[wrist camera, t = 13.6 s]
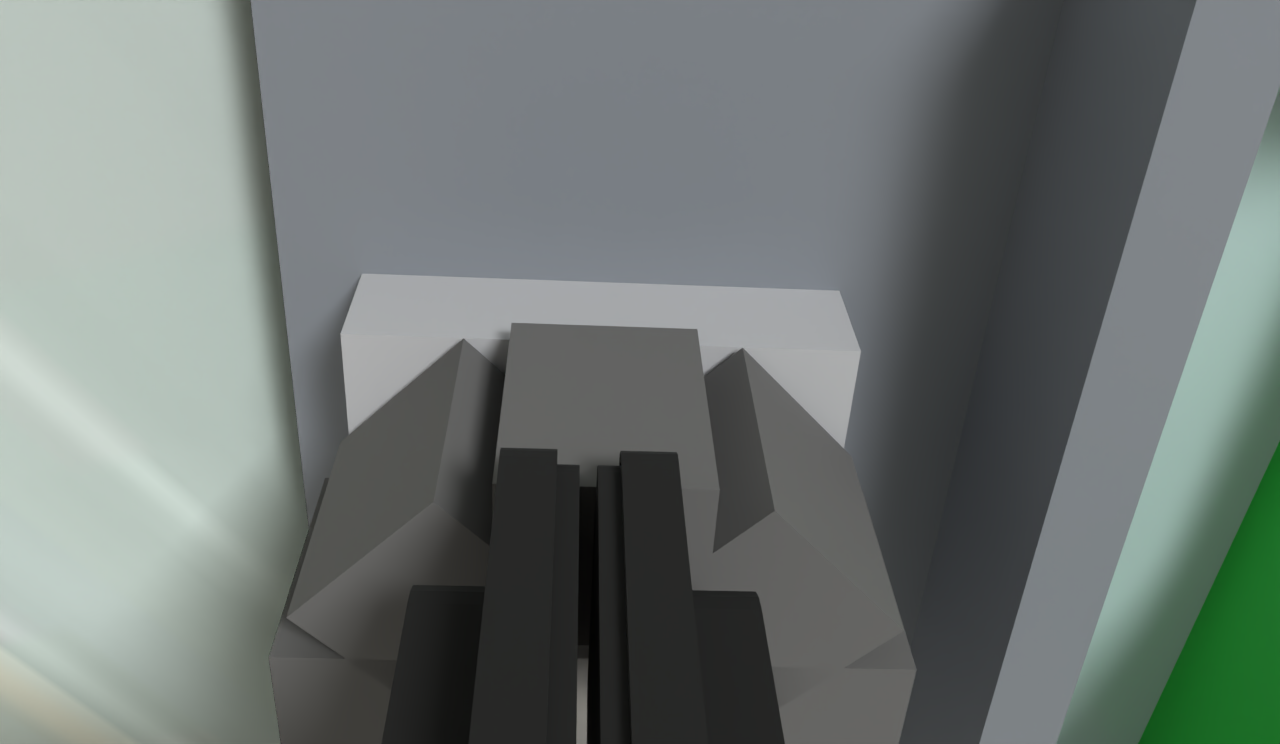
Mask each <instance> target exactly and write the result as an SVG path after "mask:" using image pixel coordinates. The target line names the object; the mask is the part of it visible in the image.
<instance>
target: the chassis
mask: <svg viewBox="0 0 1280 744" xmlns="http://www.w3.org/2000/svg"><path fill="white" fill-rule="evenodd" d="M251 9H252V18H253V27H254V36H255V45H256V54H257V63H258V72H259V81H260V91H261V100H262V109H263V118H264V127H265V136H266V145H267V154H268V163H269V172H270V181H271V190H272V199H273V208H274V218H275V227H276V236H277V245H278V254H279V263H280V272H281V281H282V290H283V299H284V308H285V317H286V326H287V336H288V345H289V354H290V363H291V372H292V381H293V390H294V399H295V408H296V417H297V426H298V435H299V444H300V453H301V463H302V472H303V481H304V490H305V499H306V508H307V517H308V526H309V527H310V524H311V521H312V518H313V515H314V512H315V508H316V505H317V502H318V499H319V496H320V492H321V489H322V486H323V483H324V480H325V478H330V474H331V471H332V468H333V465H334V462H335V458H336V455H337V452H338V449H339V445H340V442H341V441H342V440H343V439H345V438H346V437H347V436H348V435H349V434H351V433H352V432H353V431H354V430H355V429H356V428H358V427H359V426H360V425H361V424H362V423H364V422H365V421H366V420H367V419H368V418H370V417H371V416H372V415H373V414H374V413H375V412H377V411H378V410H379V409H380V408H381V407H383V406H384V405H385V404H386V403H387V402H389V401H390V400H391V399H392V398H393V397H394V396H396V395H397V394H398V393H399V392H400V391H402V390H403V389H404V388H405V387H406V386H408V385H409V384H410V383H411V382H412V381H414V380H415V379H416V378H417V377H418V376H419V375H421V374H422V373H423V372H424V371H425V370H427V369H428V368H429V367H430V366H431V365H433V364H434V363H435V362H436V361H437V360H438V359H440V358H441V357H442V356H443V355H444V354H446V353H447V352H448V351H449V350H450V349H452V348H453V347H454V346H455V345H456V344H457V343H459V342H460V341H461V340H462V339H463V338H464V339H465V340H466V341H467V342H468V343H470V344H471V345H472V346H473V347H474V348H475V349H476V350H478V351H479V352H480V353H481V354H482V355H483V356H484V357H486V358H487V359H488V360H489V361H490V362H491V363H492V364H494V365H495V366H496V367H497V368H498V369H499V370H500V371H502V372H503V373H504V374H505V373H506V365H507V357H508V348H509V340H510V332H511V323H536V324H565V325H594V326H624V327H653V328H682V329H697V330H698V337H699V345H700V352H701V359H702V366H703V373H704V376H706V375H707V374H708V373H710V372H711V371H712V370H714V369H715V368H716V367H718V366H719V365H720V364H722V363H723V362H724V361H726V360H727V359H728V358H730V357H731V356H732V355H734V354H735V353H736V352H737V351H739V350H740V349H741V348H744V349H745V350H746V351H747V352H748V353H749V354H750V355H751V356H752V357H753V358H754V359H755V360H756V361H757V362H758V363H759V364H760V365H761V366H762V367H763V368H764V369H765V370H766V371H767V372H768V373H769V374H770V375H771V376H772V377H773V378H774V379H775V380H776V381H777V382H778V383H779V384H780V385H781V386H782V387H783V388H784V389H785V390H786V391H787V392H788V393H789V394H790V395H791V396H792V397H793V398H794V399H795V400H796V401H797V402H798V403H799V404H800V405H801V406H802V407H803V408H804V409H805V410H806V411H807V412H808V413H809V414H810V415H811V416H812V417H813V418H814V419H815V420H816V421H817V422H818V423H819V424H820V425H821V426H822V427H823V428H824V429H825V430H826V431H827V432H828V433H829V434H830V435H831V436H832V437H833V438H834V439H835V440H836V441H837V442H838V443H839V444H840V445H841V446H842V447H843V448H844V449H845V450H846V451H847V452H848V453H849V454H850V455H851V456H852V459H853V463H854V466H855V469H856V473H857V476H858V479H859V483H860V486H861V489H862V492H863V494H864V497H865V500H866V504H867V507H868V510H869V514H870V517H871V520H872V523H873V527H874V530H875V533H876V537H877V540H878V543H879V547H880V550H881V553H882V557H883V560H884V563H885V567H886V570H887V573H888V576H889V580H890V583H891V586H892V590H893V593H894V596H895V600H896V603H897V606H898V610H899V613H900V616H901V620H902V623H903V626H904V630H905V633H906V636H907V639H908V643H909V646H910V649H911V653H912V656H913V659H914V663H915V666H916V669H917V670H916V674H915V679H914V683H913V687H912V691H911V695H910V699H909V703H908V707H907V712H906V716H905V720H904V724H903V728H902V732H901V736H900V740H899V744H1138V743H1139V741H1140V739H1141V737H1142V735H1143V732H1144V730H1145V728H1146V726H1147V724H1148V722H1149V720H1150V717H1151V715H1152V713H1153V711H1154V709H1155V707H1156V705H1157V702H1158V700H1159V698H1160V696H1161V694H1162V692H1163V690H1164V687H1165V685H1166V683H1167V681H1168V679H1169V677H1170V675H1171V672H1172V670H1173V668H1174V666H1175V664H1176V662H1177V660H1178V657H1179V655H1180V653H1181V651H1182V649H1183V647H1184V645H1185V642H1186V640H1187V638H1188V636H1189V634H1190V632H1191V630H1192V628H1193V625H1194V623H1195V621H1196V619H1197V617H1198V615H1199V613H1200V610H1201V608H1202V606H1203V604H1204V602H1205V600H1206V598H1207V595H1208V593H1209V591H1210V589H1211V587H1212V585H1213V583H1214V580H1215V578H1216V576H1217V574H1218V572H1219V570H1220V568H1221V565H1222V563H1223V561H1224V559H1225V557H1226V555H1227V553H1228V550H1229V548H1230V546H1231V544H1232V542H1233V540H1234V538H1235V535H1236V533H1237V531H1238V529H1239V527H1240V525H1241V523H1242V521H1243V518H1244V516H1245V514H1246V512H1247V510H1248V508H1249V506H1250V503H1251V501H1252V499H1253V497H1254V495H1255V493H1256V491H1257V488H1258V486H1259V484H1260V482H1261V480H1262V478H1263V476H1264V473H1265V471H1266V469H1267V467H1268V465H1269V463H1270V461H1271V458H1272V456H1273V454H1274V452H1275V450H1276V448H1277V446H1278V443H1279V441H1280V0H251ZM588 655H589V646H588V645H578V650H577V731H576V744H587V680H588Z"/></svg>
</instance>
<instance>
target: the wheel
mask: <svg viewBox="0 0 1280 744" xmlns="http://www.w3.org/2000/svg"><path fill="white" fill-rule="evenodd" d="M501 448H537V449H558V456H557V464H568V465H580V487H579V568H578V645H588V646H589V634H590V612H591V591H592V569H593V548H594V526H595V505H596V483H597V467H598V465H606V466H619V457H620V451H653V452H677V454H678V459H679V468H680V478H681V487H682V497H683V506H684V516H685V526H686V535H687V545H688V554H689V564H690V573H691V583H692V590H707V591H756V593H757V595H758V596H759V600H760V604H761V608H762V613H763V619H764V625H765V631H766V637H767V642H768V648H769V654H770V660H771V666H772V671H773V677H774V683H775V689H776V695H777V700H778V706H779V712H780V718H781V724H782V730H783V735H784V741H785V744H899V740H900V736H901V732H902V728H903V724H904V720H905V716H906V712H907V707H908V703H909V699H910V695H911V691H912V687H913V683H914V679H915V674H916V670H917V669H916V666H915V663H914V659H913V656H912V653H911V649H910V646H909V643H908V639H907V636H906V633H905V630H904V626H903V623H902V620H901V616H900V613H899V610H898V606H897V603H896V600H895V596H894V593H893V590H892V586H891V583H890V580H889V576H888V573H887V570H886V567H885V563H884V560H883V557H882V553H881V550H880V547H879V543H878V540H877V537H876V533H875V530H874V527H873V523H872V520H871V517H870V514H869V510H868V507H867V504H866V500H865V497H864V494H863V492H862V489H861V486H860V483H859V479H858V476H857V473H856V469H855V466H854V463H853V459H852V456H851V455H850V454H849V453H848V452H847V451H846V450H845V449H844V448H843V447H842V446H841V445H840V444H839V443H838V442H837V441H836V440H835V439H834V438H833V437H832V436H831V435H830V434H829V433H828V432H827V431H826V430H825V429H824V428H823V427H822V426H821V425H820V424H819V423H818V422H817V421H816V420H815V419H814V418H813V417H812V416H811V415H810V414H809V413H808V412H807V411H806V410H805V409H804V408H803V407H802V406H801V405H800V404H799V403H798V402H797V401H796V400H795V399H794V398H793V397H792V396H791V395H790V394H789V393H788V392H787V391H786V390H785V389H784V388H783V387H782V386H781V385H780V384H779V383H778V382H777V381H776V380H775V379H774V378H773V377H772V376H771V375H770V374H769V373H768V372H767V371H766V370H765V369H764V368H763V367H762V366H761V365H760V364H759V363H758V362H757V361H756V360H755V359H754V358H753V357H752V356H751V355H750V354H749V353H748V352H747V351H746V350H745V349H744V348H741V349H740V350H739V351H737V352H736V353H735V354H734V355H732V356H731V357H730V358H728V359H727V360H726V361H724V362H723V363H722V364H720V365H719V366H718V367H716V368H715V369H714V370H712V371H711V372H710V373H708V374H707V375H706V376H704V373H703V366H702V359H701V352H700V345H699V337H698V330H697V329H682V328H653V327H624V326H594V325H565V324H536V323H511V332H510V340H509V348H508V357H507V365H506V373H505V374H504V373H503V372H502V371H500V370H499V369H498V368H497V367H496V366H495V365H494V364H492V363H491V362H490V361H489V360H488V359H487V358H486V357H484V356H483V355H482V354H481V353H480V352H479V351H478V350H476V349H475V348H474V347H473V346H472V345H471V344H470V343H468V342H467V341H466V340H465V339H464V338H463V339H462V340H461V341H460V342H459V343H457V344H456V345H455V346H454V347H453V348H452V349H450V350H449V351H448V352H447V353H446V354H444V355H443V356H442V357H441V358H440V359H438V360H437V361H436V362H435V363H434V364H433V365H431V366H430V367H429V368H428V369H427V370H425V371H424V372H423V373H422V374H421V375H419V376H418V377H417V378H416V379H415V380H414V381H412V382H411V383H410V384H409V385H408V386H406V387H405V388H404V389H403V390H402V391H400V392H399V393H398V394H397V395H396V396H394V397H393V398H392V399H391V400H390V401H389V402H387V403H386V404H385V405H384V406H383V407H381V408H380V409H379V410H378V411H377V412H375V413H374V414H373V415H372V416H371V417H370V418H368V419H367V420H366V421H365V422H364V423H362V424H361V425H360V426H359V427H358V428H356V429H355V430H354V431H353V432H352V433H351V434H349V435H348V436H347V437H346V438H345V439H343V440H342V441H341V442H340V445H339V449H338V452H337V455H336V458H335V462H334V465H333V468H332V471H331V474H330V478H325V480H324V483H323V486H322V489H321V492H320V496H319V499H318V502H317V505H316V508H315V512H314V515H313V518H312V521H311V524H310V527H309V531H308V534H307V537H306V540H305V543H304V547H303V550H302V553H301V556H300V559H299V562H298V566H297V569H296V572H295V575H294V578H293V582H292V585H291V588H290V591H289V594H288V597H287V601H286V604H285V607H284V610H283V613H282V617H281V620H280V623H279V626H278V629H277V632H276V636H275V639H274V642H273V645H272V648H271V652H270V655H269V663H270V670H271V677H272V684H273V692H274V699H275V706H276V713H277V720H278V727H279V734H280V741H281V744H381V743H382V737H383V732H384V727H385V721H386V716H387V710H388V705H389V699H390V694H391V689H392V683H393V678H394V672H395V667H396V662H397V656H398V651H399V645H400V640H401V634H402V629H403V624H404V618H405V613H406V607H407V602H408V598H409V594H410V590H411V588H412V586H413V585H445V586H485V585H486V575H487V566H488V557H489V548H490V538H491V529H492V520H493V510H494V501H495V492H496V483H497V473H498V464H499V455H500V449H501Z"/></svg>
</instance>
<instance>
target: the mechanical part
mask: <svg viewBox="0 0 1280 744" xmlns="http://www.w3.org/2000/svg"><path fill="white" fill-rule="evenodd" d="M1138 744H1280V441H1279V443H1278V446H1277V448H1276V450H1275V452H1274V454H1273V456H1272V458H1271V461H1270V463H1269V465H1268V467H1267V469H1266V471H1265V473H1264V476H1263V478H1262V480H1261V482H1260V484H1259V486H1258V488H1257V491H1256V493H1255V495H1254V497H1253V499H1252V501H1251V503H1250V506H1249V508H1248V510H1247V512H1246V514H1245V516H1244V518H1243V521H1242V523H1241V525H1240V527H1239V529H1238V531H1237V533H1236V535H1235V538H1234V540H1233V542H1232V544H1231V546H1230V548H1229V550H1228V553H1227V555H1226V557H1225V559H1224V561H1223V563H1222V565H1221V568H1220V570H1219V572H1218V574H1217V576H1216V578H1215V580H1214V583H1213V585H1212V587H1211V589H1210V591H1209V593H1208V595H1207V598H1206V600H1205V602H1204V604H1203V606H1202V608H1201V610H1200V613H1199V615H1198V617H1197V619H1196V621H1195V623H1194V625H1193V628H1192V630H1191V632H1190V634H1189V636H1188V638H1187V640H1186V642H1185V645H1184V647H1183V649H1182V651H1181V653H1180V655H1179V657H1178V660H1177V662H1176V664H1175V666H1174V668H1173V670H1172V672H1171V675H1170V677H1169V679H1168V681H1167V683H1166V685H1165V687H1164V690H1163V692H1162V694H1161V696H1160V698H1159V700H1158V702H1157V705H1156V707H1155V709H1154V711H1153V713H1152V715H1151V717H1150V720H1149V722H1148V724H1147V726H1146V728H1145V730H1144V732H1143V735H1142V737H1141V739H1140V741H1139V743H1138Z"/></svg>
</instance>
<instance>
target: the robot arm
mask: <svg viewBox="0 0 1280 744" xmlns="http://www.w3.org/2000/svg"><path fill="white" fill-rule="evenodd" d="M557 456H558V449H537V448H501V449H500V455H499V464H498V473H497V483H496V492H495V501H494V510H493V520H492V529H491V538H490V548H489V557H488V566H487V575H486V585H485V586H445V585H413V586H412V588H411V590H410V594H409V598H408V602H407V607H406V613H405V618H404V624H403V629H402V634H401V640H400V645H399V651H398V656H397V662H396V667H395V672H394V678H393V683H392V689H391V694H390V699H389V705H388V710H387V716H386V721H385V727H384V732H383V737H382V743H381V744H576V731H577V650H578V568H579V487H580V465H568V464H557ZM587 744H785V741H784V735H783V730H782V724H781V718H780V712H779V706H778V700H777V695H776V689H775V683H774V677H773V671H772V666H771V660H770V654H769V648H768V642H767V637H766V631H765V625H764V619H763V613H762V608H761V604H760V600H759V596H758V595H757V593H756V591H707V590H692V583H691V573H690V564H689V554H688V545H687V535H686V526H685V516H684V506H683V497H682V487H681V478H680V468H679V459H678V454H677V452H653V451H620V457H619V466H606V465H598V467H597V483H596V505H595V526H594V548H593V569H592V591H591V612H590V634H589V655H588V680H587Z"/></svg>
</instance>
